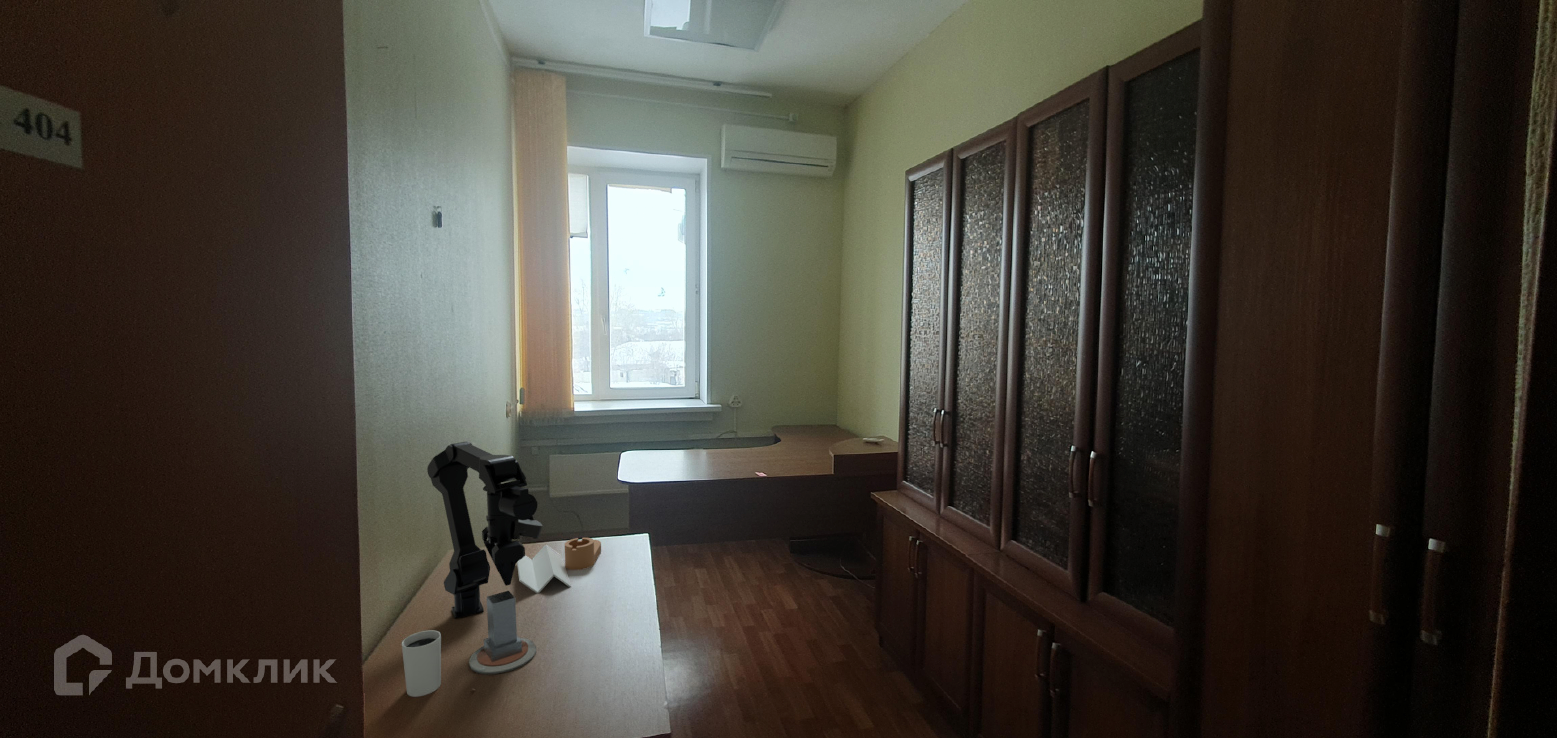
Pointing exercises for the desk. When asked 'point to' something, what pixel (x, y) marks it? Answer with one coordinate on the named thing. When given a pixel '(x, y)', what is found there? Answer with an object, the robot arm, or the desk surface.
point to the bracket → (581, 553)
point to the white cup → (422, 662)
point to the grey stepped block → (502, 627)
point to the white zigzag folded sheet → (542, 569)
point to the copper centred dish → (502, 660)
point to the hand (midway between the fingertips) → (504, 578)
